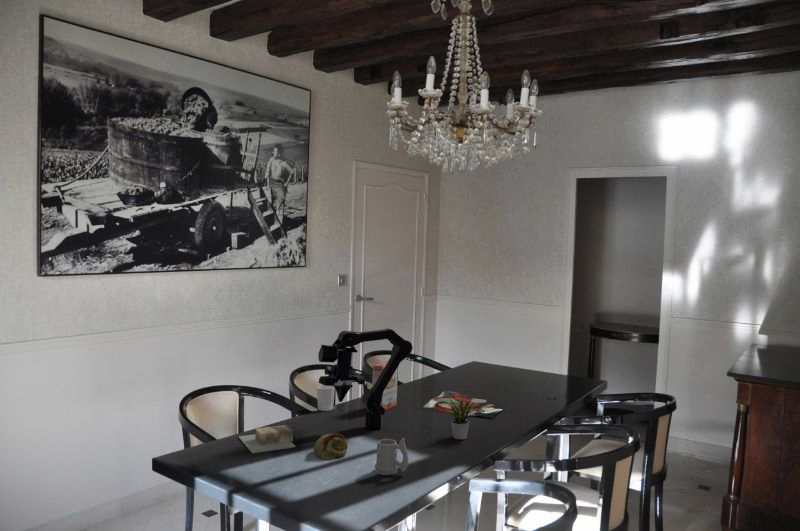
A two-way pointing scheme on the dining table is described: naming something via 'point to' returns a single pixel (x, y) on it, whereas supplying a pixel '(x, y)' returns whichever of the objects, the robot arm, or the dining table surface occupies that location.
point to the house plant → (460, 419)
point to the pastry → (330, 446)
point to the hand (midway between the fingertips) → (340, 401)
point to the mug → (390, 456)
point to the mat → (257, 447)
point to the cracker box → (391, 389)
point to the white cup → (325, 397)
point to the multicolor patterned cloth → (444, 407)
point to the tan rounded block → (274, 434)
